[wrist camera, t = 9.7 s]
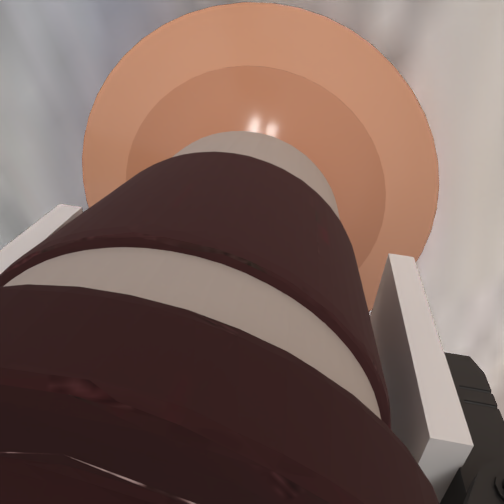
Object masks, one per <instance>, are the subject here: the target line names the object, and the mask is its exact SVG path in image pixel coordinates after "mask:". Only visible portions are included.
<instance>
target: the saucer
mask: <svg viewBox="0 0 504 504" xmlns="http://www.w3.org/2000/svg"><path fill="white" fill-rule="evenodd" d="M230 131H249V132H256V133H261V134H265V135H269V136H273V137H275V138H277V139H280V140H282V141H284V142H286V143H288V144H290V145H292V146H293V147H295V148H296V149H298V150H299V151H300V152H302V153H303V154H305V155H306V156H307V157H308V158H309V159H310V160H311V161H312V162H313V163H314V164H315V165H316V166H317V168H318V169H319V170H320V171H321V172H322V174H323V175H324V177H325V178H326V180H327V182H328V184H329V185H330V187H331V189H332V192H333V194H334V197H335V200H336V204H337V208H338V213H339V218H340V221H341V223H342V225H343V227H344V229H345V231H346V233H347V235H348V237H349V239H350V242H351V244H352V247H353V250H354V254H355V258H356V262H357V266H358V270H359V274H360V278H361V282H362V286H363V291H364V295H365V299H366V303H367V307H368V311H370V310H372V309H373V305H374V302H375V298H376V295H377V291H378V288H379V285H380V281H381V278H382V274H383V271H384V267H385V264H386V260H387V257H388V253H390V254H397V255H403V256H410V257H414V259H415V262H416V261H417V260H418V258H419V256H420V255H421V253H422V251H423V249H424V246H425V244H426V242H427V239H428V237H429V234H430V232H431V229H432V225H433V221H434V217H435V213H436V209H437V200H438V191H439V175H438V160H437V155H436V149H435V144H434V139H433V136H432V133H431V130H430V127H429V125H428V122H427V119H426V116H425V113H424V112H423V110H422V108H421V106H420V104H419V102H418V100H417V99H416V97H415V95H414V93H413V91H412V89H411V88H410V87H409V85H408V84H407V83H406V81H405V80H404V79H403V77H402V76H401V75H400V73H399V72H398V71H397V69H396V68H395V67H394V66H393V65H392V64H391V63H390V62H389V61H388V60H387V59H386V58H385V57H384V56H383V55H382V54H381V53H380V52H379V51H378V50H377V49H376V48H375V47H374V46H373V45H372V44H370V43H369V42H368V41H366V40H365V39H363V38H362V37H361V36H359V35H358V34H357V33H355V32H354V31H352V30H351V29H349V28H347V27H345V26H343V25H341V24H340V23H338V22H336V21H334V20H332V19H330V18H328V17H326V16H323V15H320V14H317V13H314V12H311V11H308V10H305V9H302V8H298V7H293V6H288V5H282V4H277V3H258V2H243V3H235V4H227V5H218V6H213V7H209V8H205V9H202V10H198V11H195V12H191V13H188V14H186V15H184V16H181V17H179V18H177V19H175V20H173V21H170V22H168V23H166V24H164V25H162V26H161V27H159V28H158V29H156V30H155V31H153V32H152V33H150V34H149V35H147V36H146V37H144V38H143V39H142V40H141V41H139V42H138V43H137V44H136V45H135V46H134V47H133V48H132V49H131V50H130V51H129V52H127V53H126V54H125V55H124V56H123V58H122V59H121V60H120V61H119V63H118V64H117V65H116V66H115V68H114V69H113V70H112V71H111V73H110V74H109V75H108V77H107V79H106V81H105V82H104V84H103V86H102V87H101V89H100V91H99V93H98V94H97V97H96V99H95V102H94V105H93V107H92V110H91V112H90V115H89V118H88V123H87V127H86V131H85V136H84V144H83V155H82V167H83V182H84V188H85V194H86V199H87V203H88V206H89V208H90V207H91V206H93V205H94V204H96V203H97V202H98V201H100V200H101V199H103V198H104V197H105V196H107V195H108V194H110V193H111V192H112V191H114V190H115V189H117V188H118V187H119V186H121V185H122V184H124V183H125V182H127V181H128V180H129V179H131V178H132V177H134V176H135V175H136V174H138V173H139V172H141V171H143V170H144V169H146V168H148V167H150V166H152V165H154V164H156V163H158V162H161V161H163V160H166V159H169V158H171V157H173V156H174V155H175V154H177V153H178V152H179V151H181V150H182V149H183V148H185V147H186V146H188V145H189V144H191V143H193V142H195V141H197V140H199V139H201V138H203V137H206V136H209V135H212V134H217V133H221V132H230Z"/></svg>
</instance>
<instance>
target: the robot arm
mask: <svg viewBox="0 0 504 504" xmlns="http://www.w3.org/2000/svg"><path fill="white" fill-rule="evenodd" d="M82 213H83V211H82V207H78V206H72V205H65V204H59V205H58V206H56V207H55V208H54V209H52V210H51V211H50V212H49V213H47V214H46V215H45V216H43V217H42V218H41V219H40V220H38V221H37V222H36V223H34V224H33V225H32V226H31V227H29V228H28V229H27V230H26V231H24V232H23V233H22V234H20V235H19V236H18V237H17V238H15V239H14V240H13V241H11V242H10V243H9V244H8V245H6V246H5V247H4V248H2V249H1V250H0V274H1V273H2V272H3V271H4V270H5V269H6V268H8V267H9V266H10V265H11V264H12V263H13V262H15V261H16V260H17V259H19V258H20V257H21V256H23V255H24V254H25V253H27V252H28V251H30V250H31V249H32V248H34V247H35V246H37V245H38V244H39V243H41V242H42V241H44V240H45V239H46V238H48V237H49V236H51V235H52V234H53V233H55V232H56V231H58V230H59V229H61V228H62V227H63V226H65V225H66V224H68V223H69V222H70V221H72V220H73V219H75V218H76V217H77V216H79V215H80V214H82ZM370 320H371V324H372V328H373V332H374V336H375V340H376V344H377V349H378V353H379V357H380V361H381V365H382V369H383V373H384V378H385V382H386V386H387V390H388V395H389V401H390V413H391V430H392V431H393V432H394V433H395V435H396V436H397V437H398V438H399V439H400V440H401V441H402V442H403V444H404V445H405V446H406V447H407V448H408V450H409V451H410V453H411V454H412V456H413V457H414V459H415V460H416V462H417V463H418V465H419V466H420V468H421V469H422V471H423V472H424V474H425V475H426V477H427V478H428V480H429V481H430V483H431V484H432V486H433V488H434V491H435V493H436V496H437V498H438V501H439V503H440V504H504V421H503V418H502V416H501V413H500V411H499V409H497V403H496V401H495V398H494V396H493V394H491V389H490V386H489V384H488V381H487V379H486V376H485V374H484V372H483V371H482V370H481V369H480V368H479V367H478V366H477V364H476V363H475V362H474V361H473V360H472V359H471V358H470V357H469V356H463V355H457V354H451V353H445V352H444V351H443V347H442V344H441V341H440V338H439V335H438V332H437V329H436V325H435V322H434V319H433V316H432V313H431V310H430V306H429V303H428V300H427V297H426V294H425V291H424V288H423V284H422V281H421V278H420V275H419V272H418V269H417V266H416V262H415V259H414V257H410V256H403V255H397V254H390V253H388V257H387V260H386V264H385V267H384V271H383V274H382V278H381V281H380V285H379V288H378V291H377V295H376V298H375V302H374V305H373V309H372V312H371V316H370Z"/></svg>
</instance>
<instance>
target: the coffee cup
mask: <svg viewBox="0 0 504 504" xmlns="http://www.w3.org/2000/svg"><path fill="white" fill-rule="evenodd" d="M0 504H440V503H439V501H438V498H437V496H436V493H435V491H434V488H433V486H432V484H431V483H430V481H429V480H428V478H427V477H426V475H425V474H424V472H423V471H422V469H421V468H420V466H419V465H418V463H417V462H416V460H415V459H414V457H413V456H412V454H411V453H410V451H409V450H408V448H407V447H406V446H405V445H404V444H403V442H402V441H401V440H400V439H399V438H398V437H397V436H396V435H395V433H394V432H393V431H392V430H391V413H390V401H389V395H388V390H387V386H386V382H385V378H384V373H383V369H382V365H381V361H380V357H379V353H378V349H377V344H376V340H375V336H374V332H373V328H372V324H371V320H370V315H369V311H368V307H367V303H366V299H365V295H364V291H363V286H362V282H361V278H360V274H359V270H358V266H357V262H356V258H355V254H354V250H353V247H352V244H351V242H350V239H349V237H348V235H347V233H346V231H345V229H344V227H343V225H342V223H341V221H340V218H339V213H338V208H337V204H336V200H335V197H334V194H333V192H332V189H331V187H330V185H329V184H328V182H327V180H326V178H325V177H324V175H323V174H322V172H321V171H320V170H319V169H318V168H317V166H316V165H315V164H314V163H313V162H312V161H311V160H310V159H309V158H308V157H307V156H306V155H305V154H303V153H302V152H300V151H299V150H298V149H296V148H295V147H293V146H292V145H290V144H288V143H286V142H284V141H282V140H280V139H277V138H275V137H273V136H269V135H265V134H261V133H256V132H249V131H230V132H221V133H217V134H212V135H209V136H206V137H203V138H201V139H199V140H197V141H195V142H193V143H191V144H189V145H188V146H186V147H185V148H183V149H182V150H181V151H179V152H178V153H177V154H175V155H174V156H173V157H171V158H169V159H166V160H163V161H161V162H158V163H156V164H154V165H152V166H150V167H148V168H146V169H144V170H143V171H141V172H139V173H138V174H136V175H135V176H134V177H132V178H131V179H129V180H128V181H127V182H125V183H124V184H122V185H121V186H119V187H118V188H117V189H115V190H114V191H112V192H111V193H110V194H108V195H107V196H105V197H104V198H103V199H101V200H100V201H98V202H97V203H96V204H94V205H93V206H91V207H90V208H89V209H87V210H86V211H84V212H83V213H82V214H80V215H79V216H77V217H76V218H75V219H73V220H72V221H70V222H69V223H68V224H66V225H65V226H63V227H62V228H61V229H59V230H58V231H56V232H55V233H53V234H52V235H51V236H49V237H48V238H46V239H45V240H44V241H42V242H41V243H39V244H38V245H37V246H35V247H34V248H32V249H31V250H30V251H28V252H27V253H25V254H24V255H23V256H21V257H20V258H19V259H17V260H16V261H15V262H13V263H12V264H11V265H10V266H9V267H8V268H6V269H5V270H4V271H3V272H2V273H1V274H0Z"/></svg>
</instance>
